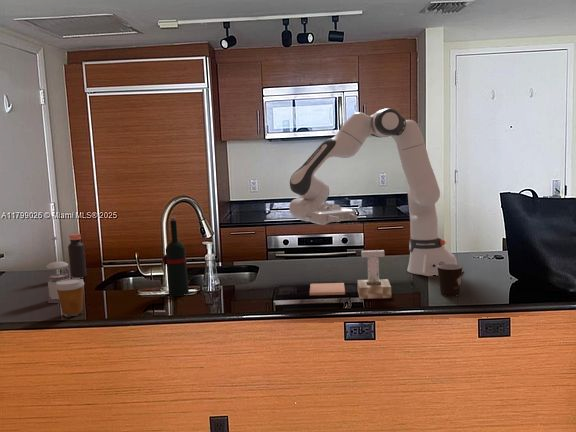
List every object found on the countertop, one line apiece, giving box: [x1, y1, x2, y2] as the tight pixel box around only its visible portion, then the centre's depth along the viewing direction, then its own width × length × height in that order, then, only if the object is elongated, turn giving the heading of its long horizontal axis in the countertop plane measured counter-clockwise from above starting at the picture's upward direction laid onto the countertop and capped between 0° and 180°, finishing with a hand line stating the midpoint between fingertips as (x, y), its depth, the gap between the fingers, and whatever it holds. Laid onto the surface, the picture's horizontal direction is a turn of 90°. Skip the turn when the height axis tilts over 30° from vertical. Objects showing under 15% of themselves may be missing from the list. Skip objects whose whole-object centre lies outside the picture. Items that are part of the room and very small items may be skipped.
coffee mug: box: [437, 263, 464, 297], centre depth 192 cm, size 12×9×10 cm
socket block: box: [357, 278, 392, 300], centre depth 196 cm, size 11×11×4 cm
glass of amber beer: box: [55, 278, 85, 314], centre depth 188 cm, size 10×10×12 cm
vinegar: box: [67, 233, 88, 277], centre depth 245 cm, size 7×7×20 cm
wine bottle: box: [161, 216, 190, 297], centre depth 208 cm, size 8×10×30 cm
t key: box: [361, 249, 385, 285], centre depth 196 cm, size 8×4×16 cm, turn 86°
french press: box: [45, 236, 71, 299], centre depth 208 cm, size 10×12×25 cm
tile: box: [309, 282, 346, 296], centre depth 205 cm, size 13×13×1 cm
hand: (347, 218), depth 203 cm, fingers open, 8 cm apart
